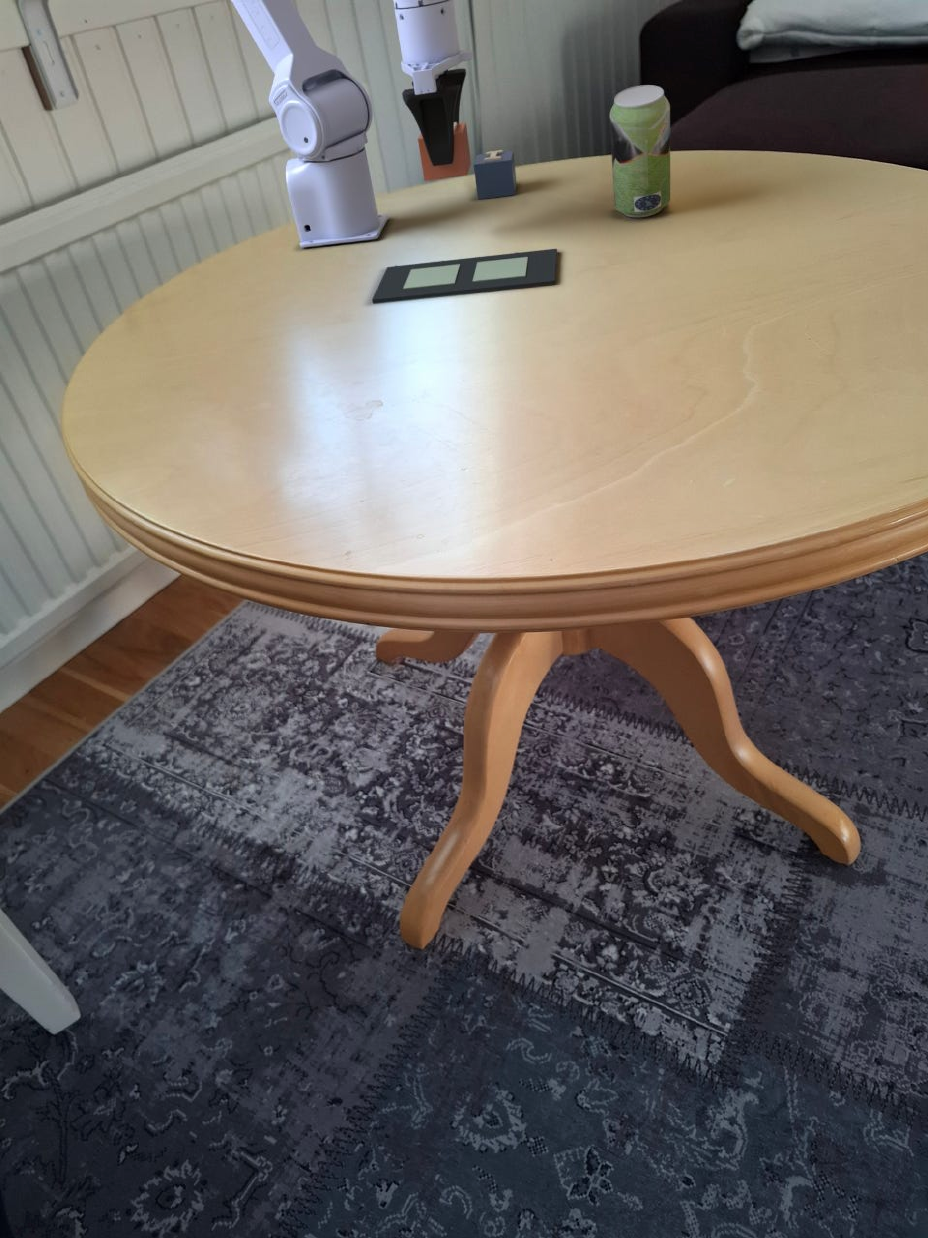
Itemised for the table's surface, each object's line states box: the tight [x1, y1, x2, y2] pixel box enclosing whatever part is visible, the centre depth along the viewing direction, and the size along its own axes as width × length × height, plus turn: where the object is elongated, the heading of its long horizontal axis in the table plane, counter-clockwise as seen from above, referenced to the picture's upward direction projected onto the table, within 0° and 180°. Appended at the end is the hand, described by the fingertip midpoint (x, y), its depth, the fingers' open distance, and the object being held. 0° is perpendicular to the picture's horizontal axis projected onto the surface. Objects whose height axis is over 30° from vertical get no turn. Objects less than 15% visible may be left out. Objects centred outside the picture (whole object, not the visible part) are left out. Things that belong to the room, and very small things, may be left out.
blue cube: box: [473, 149, 518, 200], centre depth 110 cm, size 5×5×4 cm
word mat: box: [371, 248, 558, 304], centre depth 89 cm, size 18×9×1 cm, turn 84°
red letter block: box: [417, 122, 472, 182], centre depth 93 cm, size 5×5×4 cm
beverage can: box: [608, 84, 671, 219], centre depth 93 cm, size 6×7×12 cm
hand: (445, 157), depth 93 cm, fingers closed on red letter block, 4 cm apart
